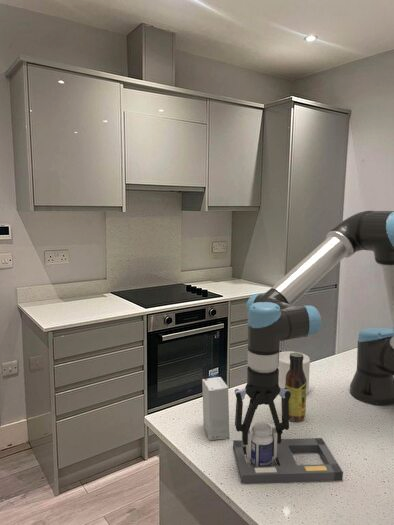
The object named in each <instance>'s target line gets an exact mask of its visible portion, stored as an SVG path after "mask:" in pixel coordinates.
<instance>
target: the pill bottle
mask: <svg viewBox="0 0 394 525" xmlns="http://www.w3.org/2000/svg"><path fill="white" fill-rule="evenodd" d="M251 427H252V429H251V459H249V464H250V465H251V467H257V466H273V462H274V457H273V436H272V426H271V424H269V423H267V422H263V421H259V422H255V423H253V424H252V426H251Z"/></svg>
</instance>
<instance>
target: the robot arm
mask: <svg viewBox="0 0 394 525" xmlns="http://www.w3.org/2000/svg"><path fill="white" fill-rule="evenodd" d="M360 251H370V252H373V256H374V260H375V261H374V262H375V263H376V264H377V265H379V266H380V267H382V274H383V279H384V285H385V290H386V296H387V301H388V308H389V314H390V320H391V324H392V328H389V327H388V328H387V327H367V328H364V329H361V330H360V331H359V333H358V339H357V353H356V370H355V373H354V375H353V378H352V380H351V382H350V385H349V393H350V395H352V397H354V398H355V399H357V400H359V401H361V402H364V403H367V404H371V405H376V406H377V405H378V406H391V405H394V210H365V211H360V212H357V213H354V214H352V215H350V216H349V217H347V218H345V219H344V220H342V221H341V222H340V223H338V224H337V225H336V226H335V227H333V228H331V230H330V231H329V232H328V233H326V236H325V240H323V241H322V242H321V243H320V244H319V245H318V246H316V248H314V249H313V250H312V251H311V252H310V253H309V254H308V255H307V256H306V257H304V258H303V259H302V260H301V261H300V262H299V263H298V264H297V265H295V266H294V267H293V268H292V269H291V270H289V271H288V273H287V274H285V275H284V276H283V277H282V278H280V279H279V281H277V282H276V283H274V285H273V286H271V288H269V290H267V291H266V292H265V293H264V294H263V293H256V294H253V295H251V296H250V297H249V298H248V299H247V302H246V304H245V311H246V314H247V320H246V321H247V371H246V372H247V374H246V376H247V377H246V378H247V379H246V385H245V387H244V388H242V389H238V388H236V389H235V390H234V395H235V397H236V403H235V417H234V418H235V419H234V426H235V430H236V432H238V433H239V432H241V436H242V437H241V440H242V441H243V444H244V445H246V454H247V455H246V456H247V459H248V460H250V459H251V433H252V431H251V427H252V426H251V425H252V423H253V419H254V416H255V413H256V410H257V409H258V406H261V405H268V407H269V411H270V414H271V418H272V421H273V424H274V427H271V435H272V436H273V459H275V458H277V444H280V443H281V439H282V435H283V432H284V431H288V430H289V429H290V420H289V399H290V396H291V393H290V391H289V390H288V388H284V389H283V388H280V387H279V385H278V382H279V369H278V367H279V353H280V344H281V342H282V341H283V342H284V341H286V340H293V339H299V338H308V337H309V336H312V335H316V334H317V333H319V332H320V330H321V328H322V317H321V314H320V312H319V310H318V309H317V308H316V307H315V306H314V305H301V306H296V305H294V304H295V303H296V302H298V301H299V300H300V299H301V298H302V297H303V296H304V295H305V294H306V293H308V292H309V291H310V290H311V289H312V288H313V287H314V286H315V285H317V283H318V282H320V281H321V279H323V278H324V277H325V276H326V275H327V274H328V273H329V272H330V271H332V269H333V268H334V267H336V266H337V265H338V264H339V263H340V262H341V261H342V260H343V259H344V258H351V257H352V256H353V255H354V254H355V253H358V252H360ZM279 393H280V394H279ZM246 395H247V396H248V398H249V402H248V403H249V404H248V406H247V411H246V413H245V415H244V416H245V417H244V419H243V408H244V407H243V406H244V401H243V400H244V399H245V398H246V397H245V396H246ZM278 395H280V398H281V399H280V400H281V403H280V404H281V406H280V407H281V421H280V419H279V414H278V412H277V409H276V408H277V407H276V404H275V400H276V398H277V397H278Z"/></svg>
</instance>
